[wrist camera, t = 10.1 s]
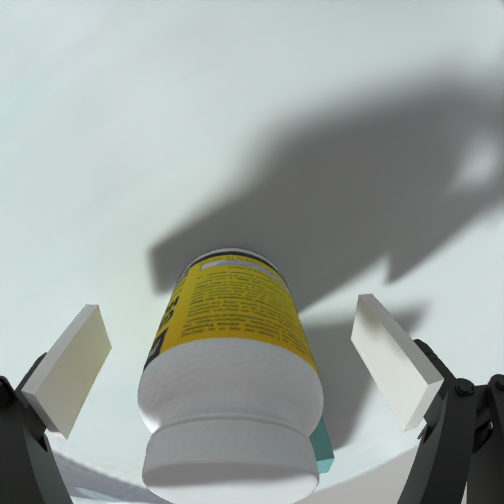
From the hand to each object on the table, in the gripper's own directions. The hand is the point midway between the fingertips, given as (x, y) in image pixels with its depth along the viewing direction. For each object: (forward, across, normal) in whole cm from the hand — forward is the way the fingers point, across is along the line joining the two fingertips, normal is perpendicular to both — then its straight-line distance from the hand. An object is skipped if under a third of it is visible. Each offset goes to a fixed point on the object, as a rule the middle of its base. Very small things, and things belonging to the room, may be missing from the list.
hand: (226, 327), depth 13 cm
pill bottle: (+3, 0, 0) cm, 3 cm away
